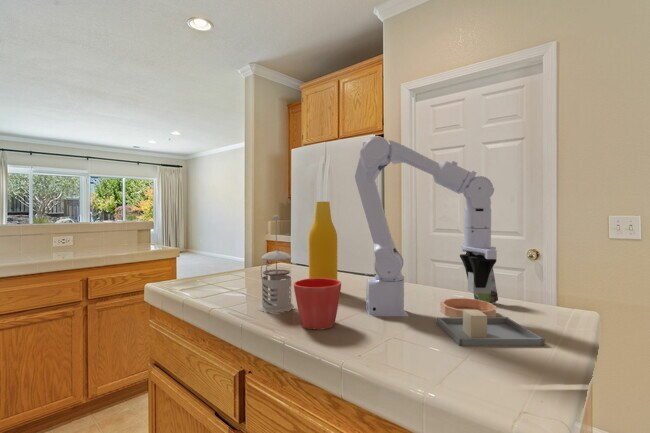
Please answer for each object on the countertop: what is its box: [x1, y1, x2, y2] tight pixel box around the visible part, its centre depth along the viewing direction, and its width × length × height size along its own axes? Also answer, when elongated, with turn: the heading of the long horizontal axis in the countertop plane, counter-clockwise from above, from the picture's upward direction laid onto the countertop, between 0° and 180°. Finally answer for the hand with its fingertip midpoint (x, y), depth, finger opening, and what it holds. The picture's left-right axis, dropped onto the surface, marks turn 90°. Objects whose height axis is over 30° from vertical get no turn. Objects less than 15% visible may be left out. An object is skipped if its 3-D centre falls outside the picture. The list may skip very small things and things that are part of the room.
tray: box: [436, 316, 546, 347], centre depth 70 cm, size 16×13×2 cm
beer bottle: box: [308, 201, 338, 280], centre depth 108 cm, size 9×9×29 cm
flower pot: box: [293, 278, 342, 330], centre depth 77 cm, size 11×11×10 cm
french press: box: [258, 214, 295, 314], centre depth 91 cm, size 10×12×25 cm
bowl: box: [439, 297, 497, 317], centre depth 83 cm, size 12×12×3 cm
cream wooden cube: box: [463, 310, 487, 338], centre depth 69 cm, size 4×3×4 cm
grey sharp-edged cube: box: [467, 272, 491, 294], centre depth 79 cm, size 4×3×4 cm
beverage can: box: [472, 266, 499, 305], centre depth 94 cm, size 6×7×12 cm
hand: (476, 285), depth 79 cm, fingers closed on grey sharp-edged cube, 3 cm apart
